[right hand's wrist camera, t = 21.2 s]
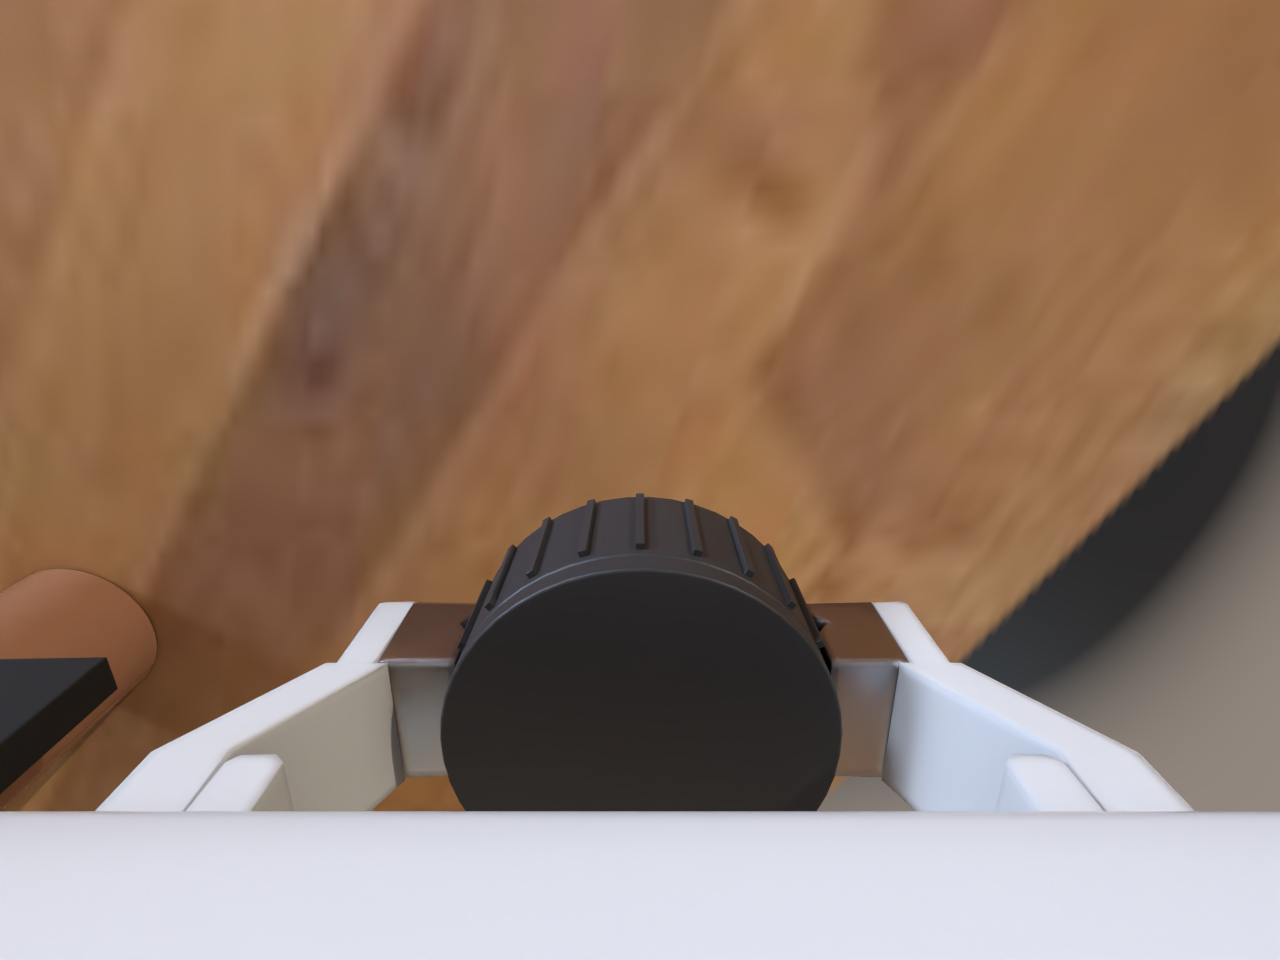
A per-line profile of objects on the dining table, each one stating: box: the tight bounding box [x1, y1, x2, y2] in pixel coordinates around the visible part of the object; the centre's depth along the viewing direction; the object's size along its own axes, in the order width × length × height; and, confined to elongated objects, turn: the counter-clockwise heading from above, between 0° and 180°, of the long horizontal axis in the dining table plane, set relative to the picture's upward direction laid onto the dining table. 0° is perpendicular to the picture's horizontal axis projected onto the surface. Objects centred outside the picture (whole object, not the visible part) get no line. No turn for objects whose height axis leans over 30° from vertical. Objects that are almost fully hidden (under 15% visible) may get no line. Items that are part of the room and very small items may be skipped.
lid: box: [440, 494, 842, 811], centre depth 9 cm, size 5×5×2 cm
